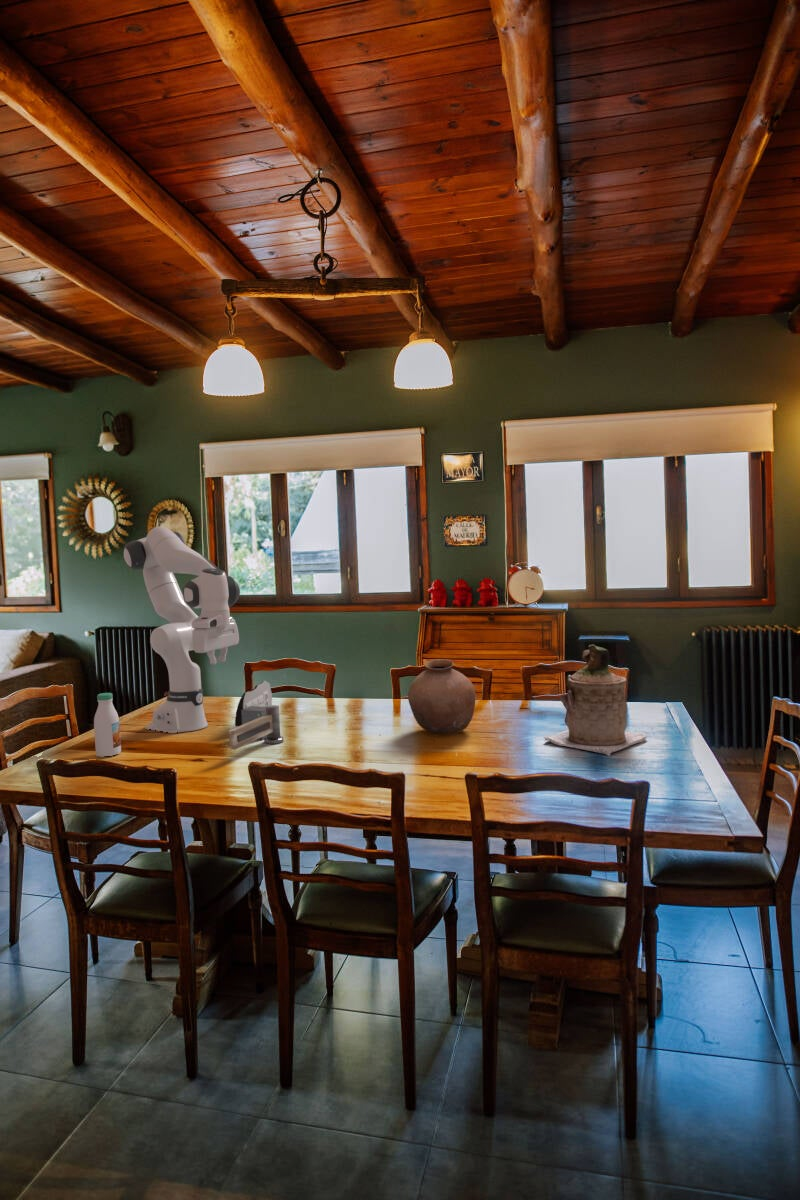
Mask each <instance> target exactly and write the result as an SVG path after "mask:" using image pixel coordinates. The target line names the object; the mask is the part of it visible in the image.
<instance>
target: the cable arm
mask: <svg viewBox="0 0 800 1200" xmlns="http://www.w3.org/2000/svg"><path fill="white" fill-rule="evenodd" d="M280 719H281V718H280V706H279V705H274V704H273V705H271V706H266V715H264V716H262V717H260V718H257V719H255V720H253V721H250V722H248V723H246V724H243V725H241V726H235V727H234V728H232V729H230V730H228V744H229V747H228V748H229V750H233V751H235V750H238V749H239V748H242V747H244V746H246V745H248V744H250V743H252V742H254V741H257V739H259V738H261V737H263V736H265V735H267V738H268V739H277V738H280V736H281V721H280Z"/></svg>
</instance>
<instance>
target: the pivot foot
mask: <svg viewBox="0 0 800 1200" xmlns="http://www.w3.org/2000/svg"><path fill="white" fill-rule="evenodd" d="M263 742H264V744H265V743H266V744H265V745H278V744H282V743H284V737H283V736H282V735H280V738H277V739H268V738H267V737H266V738H264V740H263Z"/></svg>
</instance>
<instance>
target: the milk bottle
mask: <svg viewBox="0 0 800 1200" xmlns="http://www.w3.org/2000/svg"><path fill="white" fill-rule="evenodd" d="M96 698H97V702H98V705H97V709H96V712H95V714H94V718H93V730H94V731H93V732H94V733H93V734H94V743H95V745H94V746H95V756H96V757H98V756H103V757H102V758H105V757H104V756H111V755H116V754H119V753H120V754H121V753H122V742H121V728H120V718H119V715H118V712H117V710H116V708H115V705H114V704H113V698H114V697H113V693H112V692H102V693H99V694H97V696H96ZM120 754H119V755H120ZM116 756H117V755H116Z"/></svg>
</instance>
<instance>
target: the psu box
mask: <svg viewBox="0 0 800 1200" xmlns="http://www.w3.org/2000/svg"><path fill="white" fill-rule="evenodd" d="M241 714H242V725H243V724H246V723H248V722H250V721H253V720H255V719H257V718H260V717H262V716H264V715H266V707H259V706H250V707H247V708H245V709H242V710H241ZM266 737H267V735H265V736H263V737H261V738H259V739H258V741H264V738H266Z"/></svg>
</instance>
